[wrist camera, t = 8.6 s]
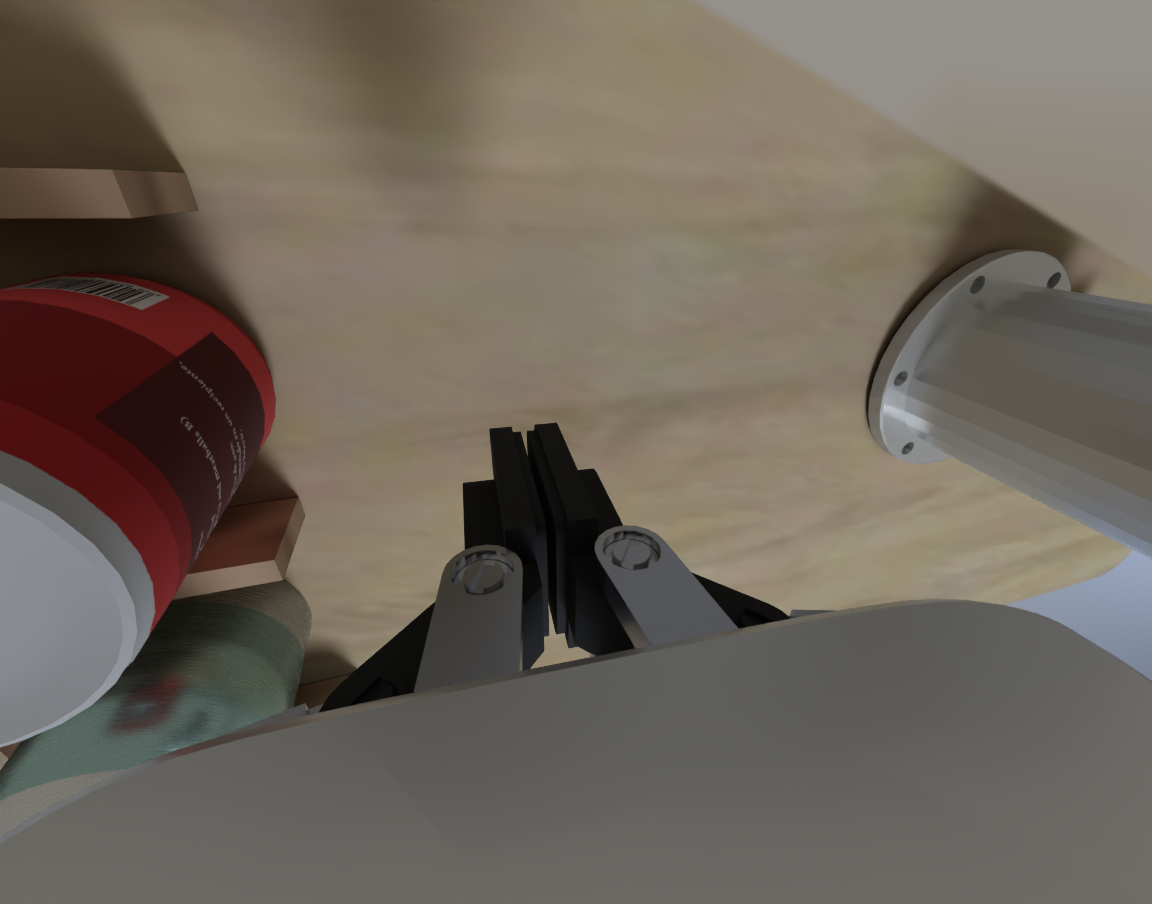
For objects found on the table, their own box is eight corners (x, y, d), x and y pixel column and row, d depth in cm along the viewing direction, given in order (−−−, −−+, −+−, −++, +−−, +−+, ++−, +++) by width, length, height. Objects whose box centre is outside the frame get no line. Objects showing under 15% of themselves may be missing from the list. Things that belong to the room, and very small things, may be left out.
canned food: (-74, 350, 14) (-946, 646, 5) (146, 216, 14) (-345, 274, 5) (158, 508, 19) (-94, 823, 9) (327, 406, 18) (239, 623, 9)
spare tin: (287, 548, 21) (185, 828, 12) (330, 657, 25) (278, 932, 16) (79, 582, 19) (-233, 946, 10) (160, 694, 23) (-11, 1032, 14)
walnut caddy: (184, 172, 14) (111, 169, 11) (363, 683, 26) (355, 754, 23) (-346, 162, 11) (-668, 154, 8) (133, 737, 24) (86, 827, 20)
